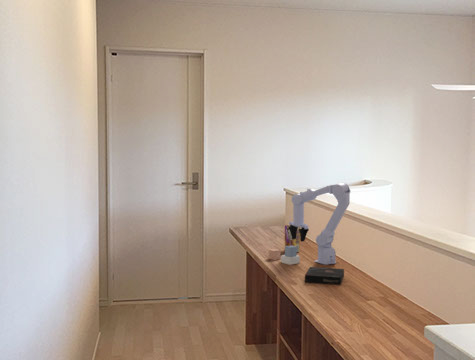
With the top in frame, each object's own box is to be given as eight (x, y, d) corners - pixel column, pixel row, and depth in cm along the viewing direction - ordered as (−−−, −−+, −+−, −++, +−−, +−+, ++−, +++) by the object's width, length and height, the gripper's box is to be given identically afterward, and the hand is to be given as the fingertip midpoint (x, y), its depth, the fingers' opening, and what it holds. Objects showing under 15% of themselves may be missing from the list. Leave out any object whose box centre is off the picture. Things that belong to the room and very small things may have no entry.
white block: (299, 263, 301) (299, 255, 301) (290, 265, 297) (290, 257, 297) (290, 261, 307) (290, 253, 306) (280, 262, 302) (280, 255, 302)
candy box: (300, 251, 328) (300, 225, 327) (295, 252, 326) (295, 226, 324) (289, 249, 335) (289, 224, 334) (284, 250, 333) (284, 224, 331)
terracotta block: (280, 258, 311) (280, 249, 311) (275, 260, 308) (275, 251, 307) (274, 257, 314) (274, 248, 314) (268, 258, 311) (268, 249, 310)
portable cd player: (343, 276, 274) (343, 268, 273) (340, 286, 257) (340, 277, 257) (310, 274, 278) (310, 266, 278) (304, 283, 262) (304, 275, 261)
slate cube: (296, 256, 301) (296, 246, 300) (289, 257, 298) (289, 247, 298) (291, 254, 304) (291, 245, 304) (284, 255, 302) (285, 246, 302)
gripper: (284, 214, 313) (284, 238, 314) (301, 217, 300) (300, 243, 302) (294, 213, 316) (294, 237, 317) (311, 216, 304) (311, 241, 305)
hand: (298, 240), depth 310 cm, fingers open, 7 cm apart
